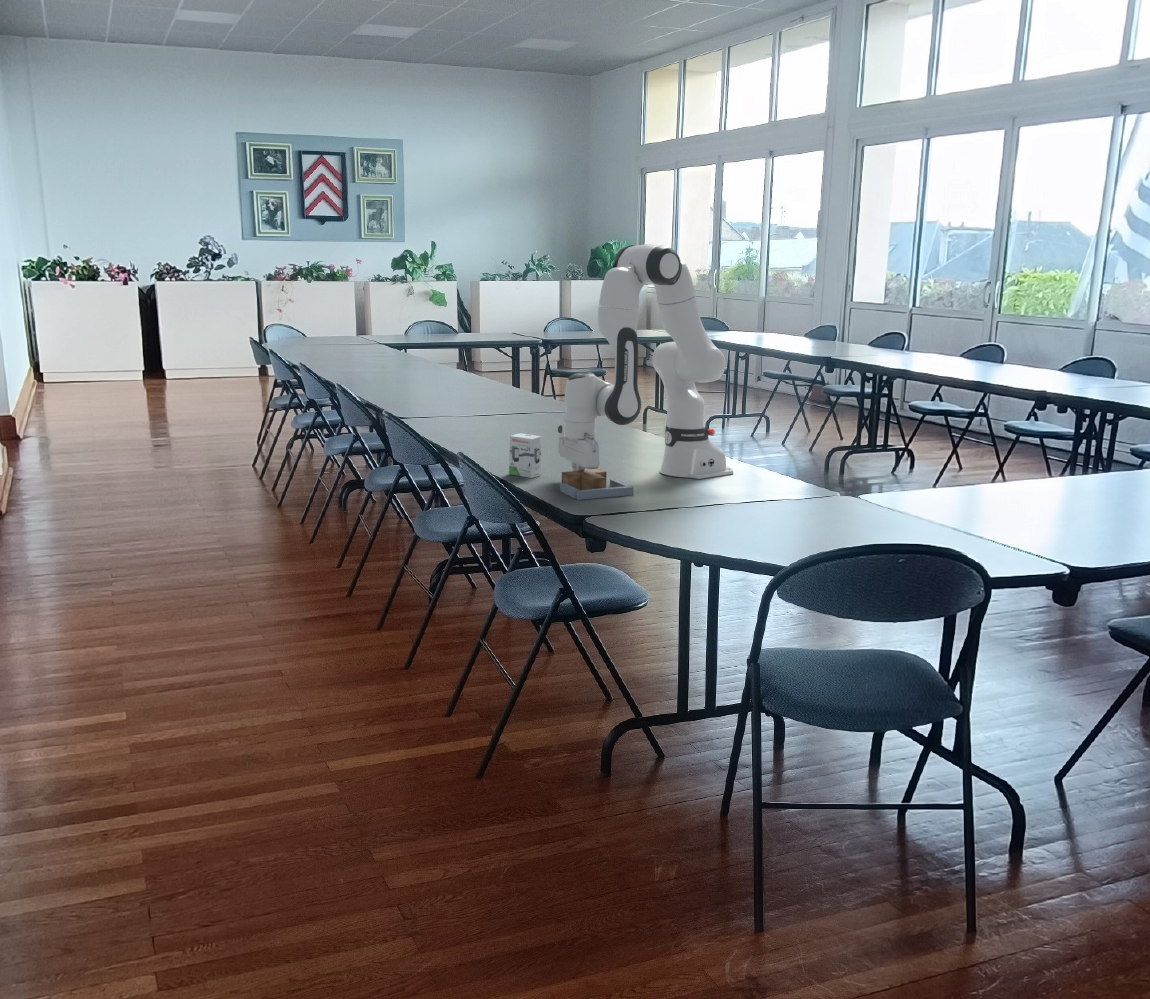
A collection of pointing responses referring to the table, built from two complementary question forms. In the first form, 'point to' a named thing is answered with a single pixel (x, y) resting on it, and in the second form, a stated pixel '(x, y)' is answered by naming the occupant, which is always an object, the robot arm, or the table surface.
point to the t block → (585, 479)
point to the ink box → (525, 455)
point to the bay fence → (598, 491)
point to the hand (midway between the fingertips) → (577, 478)
